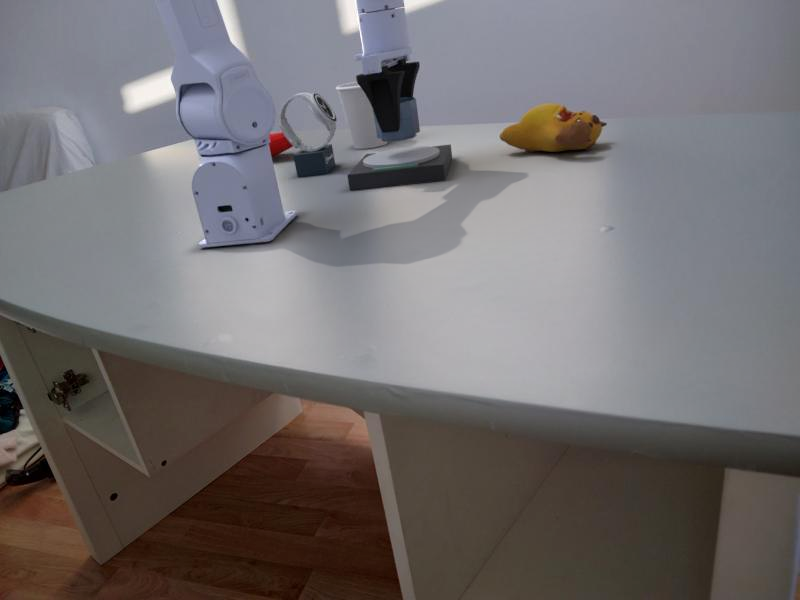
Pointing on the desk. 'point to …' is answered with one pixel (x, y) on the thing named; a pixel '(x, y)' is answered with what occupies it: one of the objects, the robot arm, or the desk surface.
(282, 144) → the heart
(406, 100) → the blue cup
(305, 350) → the desk surface
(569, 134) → the toy
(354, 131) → the dixie cup
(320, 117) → the watch
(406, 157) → the scale
